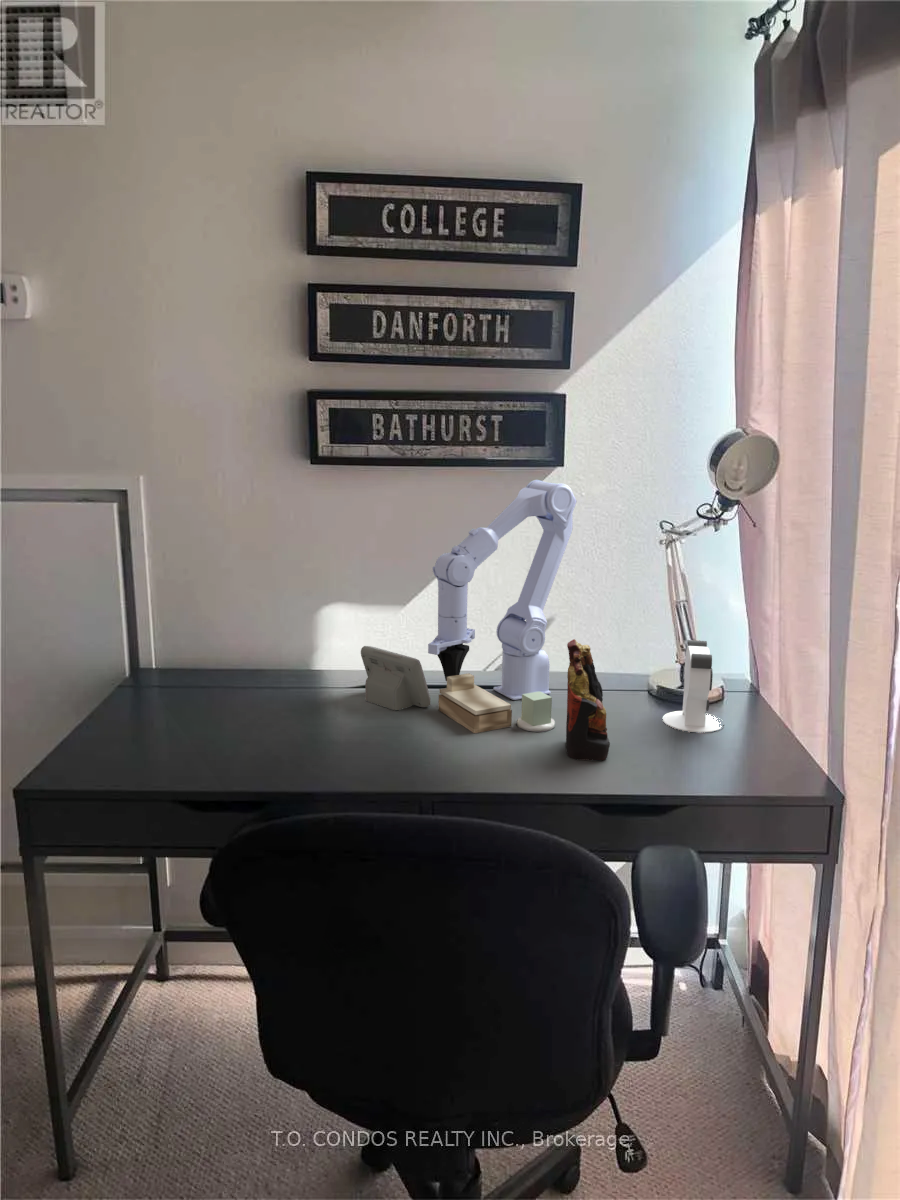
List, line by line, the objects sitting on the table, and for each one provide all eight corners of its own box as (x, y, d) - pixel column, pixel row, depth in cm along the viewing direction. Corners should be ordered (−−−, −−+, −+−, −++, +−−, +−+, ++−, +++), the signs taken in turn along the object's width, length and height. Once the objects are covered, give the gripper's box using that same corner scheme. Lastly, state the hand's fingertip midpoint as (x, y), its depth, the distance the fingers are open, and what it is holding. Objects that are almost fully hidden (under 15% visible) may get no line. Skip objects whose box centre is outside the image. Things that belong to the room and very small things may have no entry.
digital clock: (435, 708, 177) (435, 656, 175) (396, 717, 172) (396, 664, 170) (390, 687, 190) (390, 638, 188) (353, 695, 185) (352, 645, 182)
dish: (540, 716, 173) (541, 712, 173) (562, 728, 167) (562, 724, 167) (510, 722, 170) (510, 718, 170) (530, 734, 164) (530, 730, 164)
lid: (473, 687, 179) (473, 671, 178) (511, 708, 167) (511, 691, 166) (439, 693, 176) (439, 676, 175) (475, 715, 164) (476, 697, 163)
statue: (608, 764, 152) (614, 650, 147) (561, 760, 153) (565, 647, 148) (609, 737, 163) (615, 631, 159) (565, 734, 165) (569, 628, 160)
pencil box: (473, 704, 180) (474, 688, 179) (511, 726, 168) (511, 710, 167) (438, 710, 176) (438, 694, 175) (474, 733, 164) (474, 716, 164)
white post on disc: (727, 736, 164) (734, 657, 161) (664, 732, 166) (669, 654, 163) (720, 714, 176) (726, 640, 173) (660, 710, 178) (665, 637, 174)
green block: (539, 716, 171) (539, 691, 170) (550, 722, 168) (551, 697, 167) (521, 719, 169) (522, 694, 168) (532, 726, 166) (533, 700, 165)
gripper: (450, 625, 168) (449, 694, 171) (488, 610, 180) (487, 675, 183) (419, 619, 171) (418, 687, 174) (458, 605, 183) (457, 669, 186)
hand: (451, 681), depth 179 cm, fingers closed
